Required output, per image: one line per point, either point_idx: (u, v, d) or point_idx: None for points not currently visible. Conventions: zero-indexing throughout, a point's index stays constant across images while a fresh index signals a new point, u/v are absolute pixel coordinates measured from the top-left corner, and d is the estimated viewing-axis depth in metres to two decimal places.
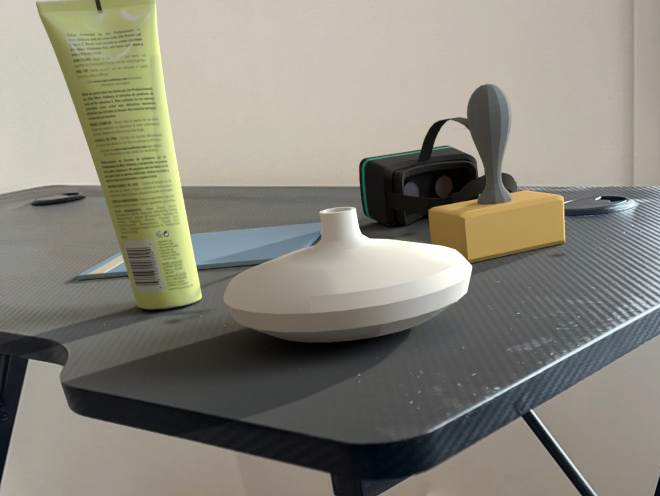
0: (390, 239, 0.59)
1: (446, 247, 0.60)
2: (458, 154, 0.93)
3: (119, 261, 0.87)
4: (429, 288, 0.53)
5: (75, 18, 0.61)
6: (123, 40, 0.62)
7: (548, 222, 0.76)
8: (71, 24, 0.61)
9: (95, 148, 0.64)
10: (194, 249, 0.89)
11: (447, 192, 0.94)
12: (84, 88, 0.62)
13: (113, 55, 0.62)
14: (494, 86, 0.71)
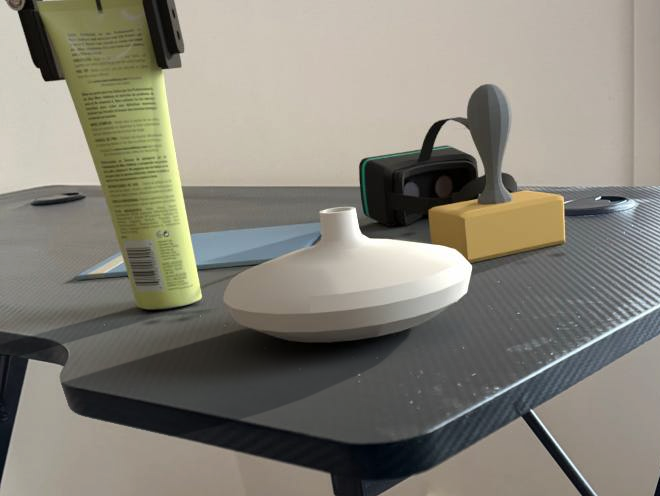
0: (390, 239, 0.59)
1: (446, 247, 0.60)
2: (458, 154, 0.93)
3: (119, 261, 0.87)
4: (429, 288, 0.53)
5: (76, 18, 0.61)
6: (123, 40, 0.62)
7: (548, 222, 0.76)
8: (71, 24, 0.61)
9: (95, 148, 0.64)
10: (194, 249, 0.89)
11: (447, 192, 0.94)
12: (84, 88, 0.62)
13: (113, 55, 0.62)
14: (494, 86, 0.71)
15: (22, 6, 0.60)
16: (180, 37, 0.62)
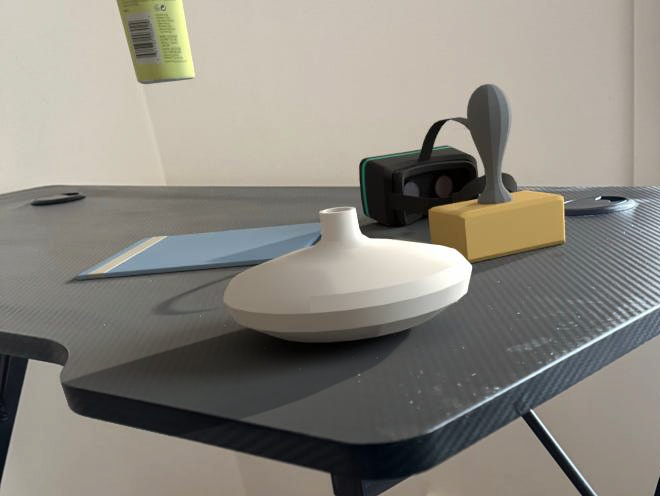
0: (390, 239, 0.59)
1: (446, 247, 0.60)
2: (458, 154, 0.93)
3: (119, 261, 0.87)
4: (429, 288, 0.53)
5: None
6: None
7: (548, 222, 0.76)
8: None
9: None
10: (194, 249, 0.89)
11: (447, 192, 0.94)
12: None
13: None
14: (494, 86, 0.71)
15: None
16: None
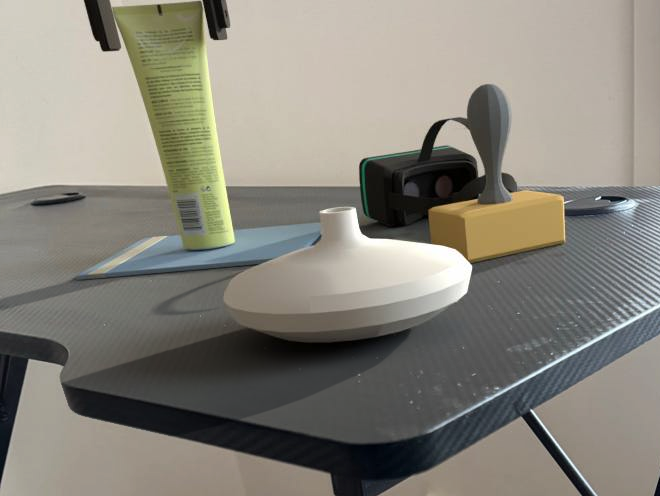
0: (390, 239, 0.59)
1: (446, 247, 0.60)
2: (458, 154, 0.93)
3: (119, 261, 0.87)
4: (429, 288, 0.53)
5: (142, 20, 0.79)
6: (178, 36, 0.80)
7: (548, 222, 0.76)
8: (138, 24, 0.79)
9: (154, 120, 0.82)
10: None
11: (447, 192, 0.94)
12: (147, 74, 0.80)
13: (170, 48, 0.80)
14: (494, 86, 0.71)
15: None
16: (227, 15, 0.80)
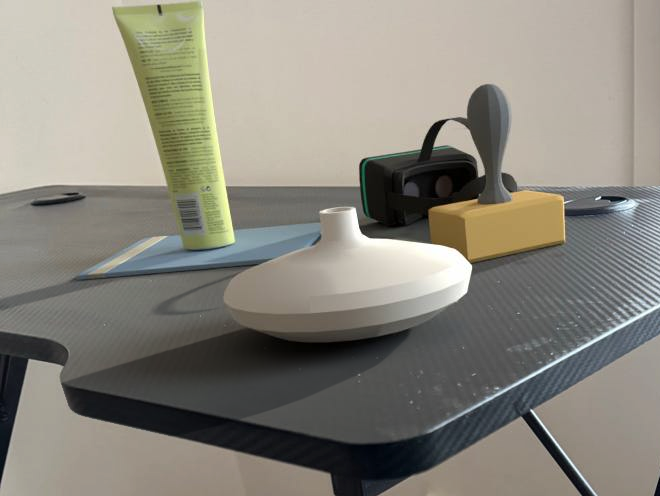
0: (390, 239, 0.59)
1: (446, 247, 0.60)
2: (458, 154, 0.93)
3: (119, 261, 0.87)
4: (429, 288, 0.53)
5: (142, 20, 0.79)
6: (178, 36, 0.80)
7: (548, 222, 0.76)
8: (138, 24, 0.79)
9: (154, 120, 0.82)
10: None
11: (447, 192, 0.94)
12: (147, 74, 0.80)
13: (170, 48, 0.80)
14: (494, 86, 0.71)
15: None
16: None
